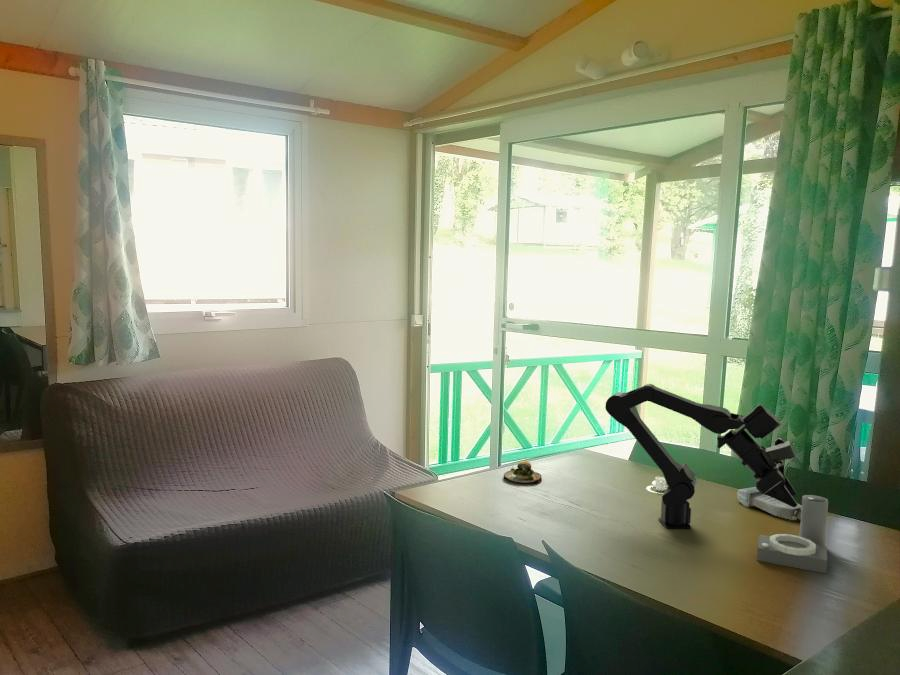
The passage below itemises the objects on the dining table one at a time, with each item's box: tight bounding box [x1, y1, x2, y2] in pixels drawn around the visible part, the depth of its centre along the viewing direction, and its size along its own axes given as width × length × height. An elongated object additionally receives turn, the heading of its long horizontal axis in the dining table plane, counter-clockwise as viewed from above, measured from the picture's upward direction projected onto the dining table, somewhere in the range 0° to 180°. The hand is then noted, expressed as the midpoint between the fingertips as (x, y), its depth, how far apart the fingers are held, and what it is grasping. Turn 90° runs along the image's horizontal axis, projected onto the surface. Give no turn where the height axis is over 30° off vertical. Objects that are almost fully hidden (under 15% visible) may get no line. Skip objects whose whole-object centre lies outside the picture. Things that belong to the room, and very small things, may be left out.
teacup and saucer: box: [645, 476, 667, 495], centre depth 206 cm, size 9×8×4 cm
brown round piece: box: [503, 455, 543, 485], centre depth 214 cm, size 12×12×8 cm
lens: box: [799, 494, 829, 546], centre depth 164 cm, size 6×6×12 cm
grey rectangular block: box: [756, 533, 828, 575], centre depth 157 cm, size 14×9×4 cm
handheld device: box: [736, 486, 802, 521], centre depth 189 cm, size 10×20×5 cm, turn 25°
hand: (795, 500), depth 165 cm, fingers open, 9 cm apart
